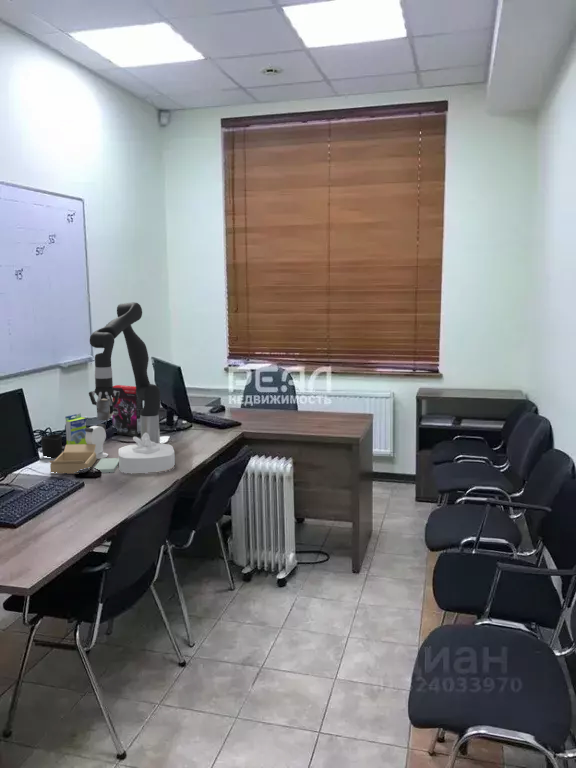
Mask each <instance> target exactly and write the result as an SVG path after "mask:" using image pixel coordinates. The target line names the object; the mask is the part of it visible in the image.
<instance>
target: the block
mask: <svg viewBox="0 0 576 768" xmlns="http://www.w3.org/2000/svg"><path fill="white" fill-rule="evenodd" d="M111 397H112V396H111ZM108 399H109V398H108ZM112 401H113V397H112ZM96 402H97V401H96ZM96 413H97V414H96V417H97V418H96V419H97V421H109V419H111V418H112V415H113V413H112V414H110V404H109V401H108V400H107V399H101V400H100V401H98V402H97V406H96Z"/></svg>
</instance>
